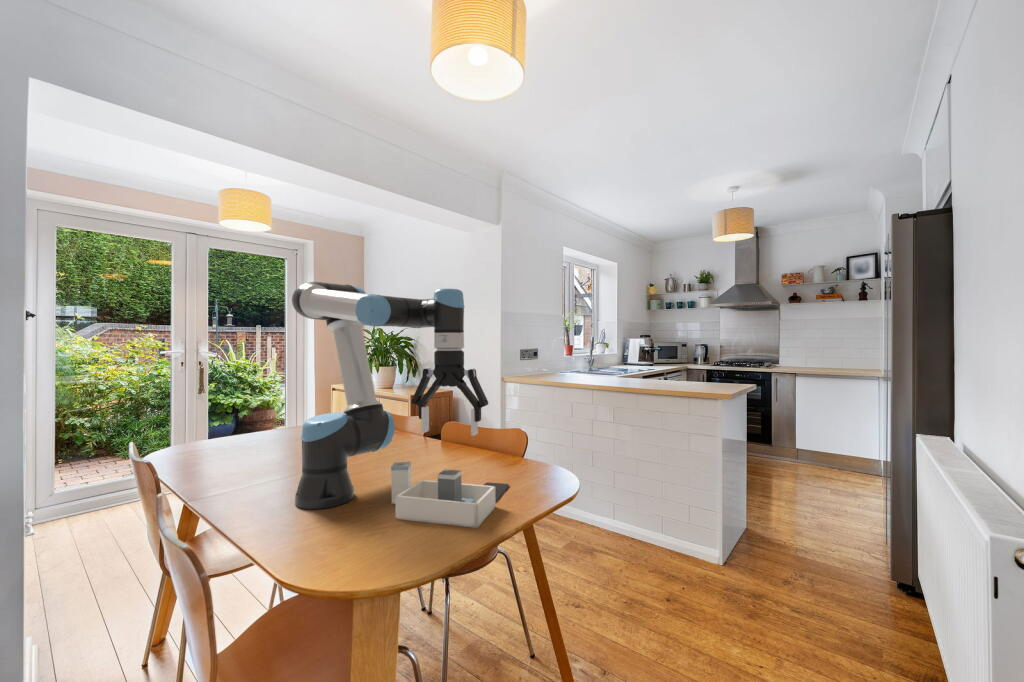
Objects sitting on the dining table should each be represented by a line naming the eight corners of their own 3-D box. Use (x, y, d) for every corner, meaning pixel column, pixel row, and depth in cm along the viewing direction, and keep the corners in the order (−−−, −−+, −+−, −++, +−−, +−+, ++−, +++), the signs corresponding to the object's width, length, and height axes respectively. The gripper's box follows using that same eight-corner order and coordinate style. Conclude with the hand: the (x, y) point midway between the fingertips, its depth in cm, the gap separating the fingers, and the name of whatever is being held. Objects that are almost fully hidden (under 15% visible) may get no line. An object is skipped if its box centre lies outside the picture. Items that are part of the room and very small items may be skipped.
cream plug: (391, 503, 119) (391, 466, 119) (394, 497, 123) (394, 462, 124) (408, 503, 119) (408, 466, 119) (411, 497, 124) (411, 461, 124)
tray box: (395, 518, 109) (395, 496, 109) (421, 499, 122) (421, 479, 122) (477, 528, 103) (477, 504, 103) (495, 507, 116) (495, 486, 116)
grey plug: (437, 514, 110) (437, 474, 110) (445, 507, 114) (445, 469, 114) (454, 516, 109) (454, 475, 109) (461, 509, 113) (461, 470, 113)
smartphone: (495, 505, 118) (510, 486, 133) (495, 502, 118) (510, 483, 133) (467, 503, 120) (485, 484, 135) (467, 500, 120) (485, 481, 135)
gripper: (398, 350, 112) (398, 433, 112) (490, 350, 105) (491, 438, 105) (412, 349, 119) (412, 427, 119) (500, 349, 112) (500, 432, 112)
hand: (449, 433), depth 112 cm, fingers open, 13 cm apart
